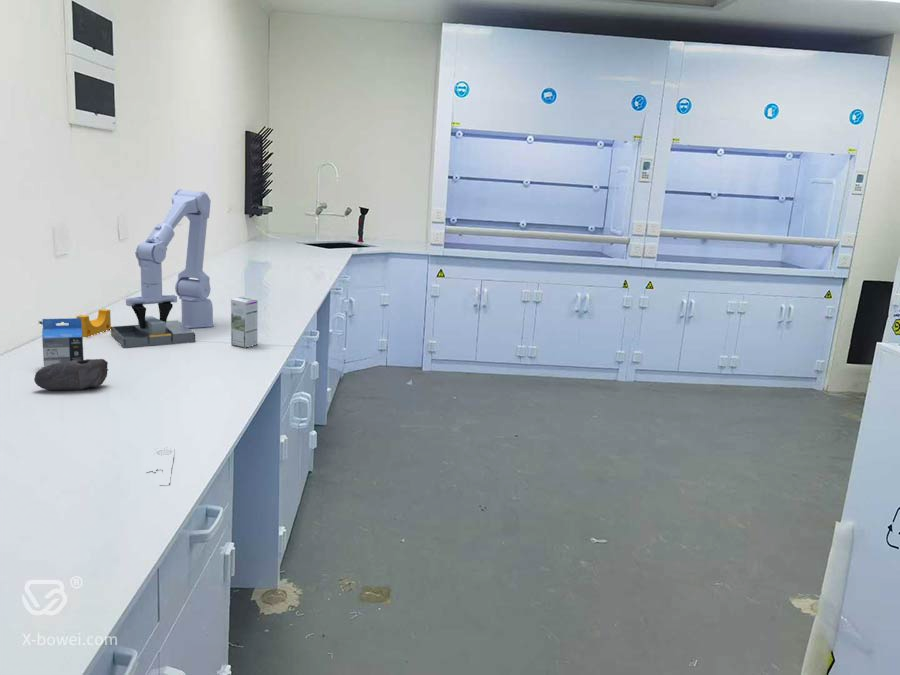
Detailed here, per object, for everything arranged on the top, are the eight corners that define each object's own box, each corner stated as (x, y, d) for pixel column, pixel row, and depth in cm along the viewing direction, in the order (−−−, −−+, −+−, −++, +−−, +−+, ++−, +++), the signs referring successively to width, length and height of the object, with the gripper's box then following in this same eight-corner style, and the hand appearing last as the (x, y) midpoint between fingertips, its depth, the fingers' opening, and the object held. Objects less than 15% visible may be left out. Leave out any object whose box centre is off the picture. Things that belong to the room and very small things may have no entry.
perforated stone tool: (33, 394, 152) (31, 365, 150) (36, 387, 156) (34, 358, 155) (108, 390, 158) (106, 362, 156) (109, 384, 162) (107, 356, 161)
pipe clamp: (98, 328, 212) (97, 308, 211) (110, 330, 212) (110, 309, 210) (72, 336, 201) (71, 315, 199) (85, 338, 200) (84, 317, 199)
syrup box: (258, 345, 207) (258, 298, 204) (245, 348, 202) (245, 301, 198) (243, 342, 209) (244, 296, 206) (230, 345, 204) (230, 298, 201)
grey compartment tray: (179, 330, 217) (178, 319, 217) (195, 342, 205) (195, 331, 204) (111, 334, 205) (110, 324, 205) (123, 348, 193) (123, 336, 192)
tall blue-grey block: (151, 331, 210) (151, 316, 209) (165, 338, 204) (165, 322, 202) (138, 333, 207) (138, 317, 206) (152, 340, 201) (152, 323, 199)
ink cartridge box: (43, 370, 168) (40, 322, 165) (44, 366, 172) (41, 318, 169) (84, 368, 172) (81, 321, 170) (84, 364, 176) (81, 317, 173)
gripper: (169, 279, 209) (170, 322, 212) (121, 282, 199) (122, 327, 202) (179, 283, 204) (180, 326, 207) (130, 286, 194) (132, 331, 197)
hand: (152, 327), depth 204 cm, fingers open, 5 cm apart
